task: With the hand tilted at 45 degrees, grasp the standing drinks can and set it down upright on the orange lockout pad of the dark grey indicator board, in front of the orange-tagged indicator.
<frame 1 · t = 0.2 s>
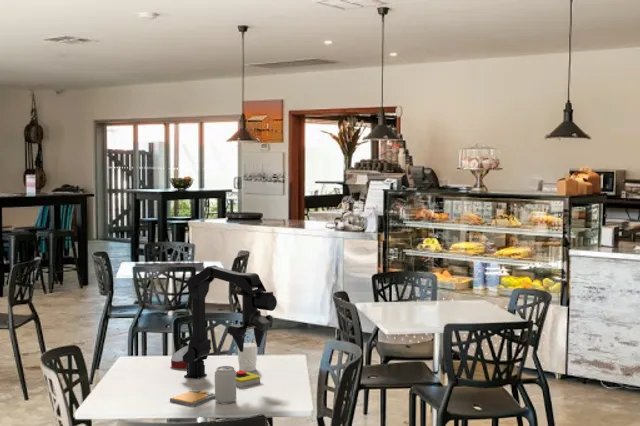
hand: (250, 349, 305), 14 cm above the table, tool pointing down, fingers open, 9 cm apart
emergency button: (243, 384, 312), on the table
can: (225, 401, 289), on the table
grey red slanted block: (183, 366, 337), on the table
indicator board: (194, 399, 291), on the table
white cup: (247, 369, 331), on the table
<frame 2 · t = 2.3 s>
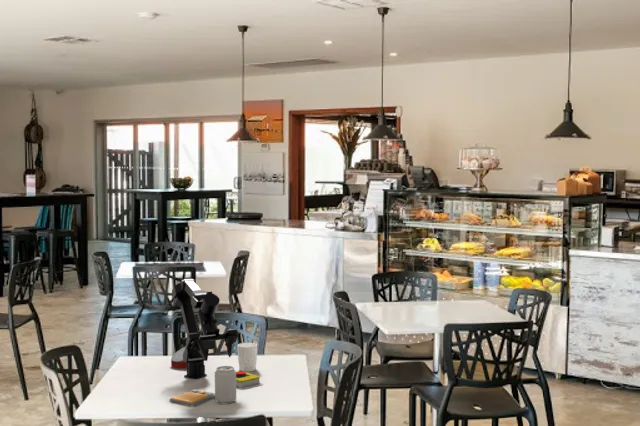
hand: (217, 358, 295), 14 cm above the table, tool tilted 45°, fingers open, 9 cm apart
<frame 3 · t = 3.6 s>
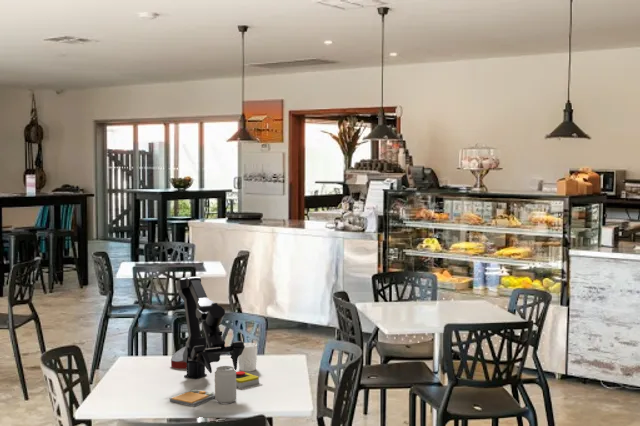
hand: (223, 371, 290), 10 cm above the table, tool tilted 45°, fingers open, 9 cm apart
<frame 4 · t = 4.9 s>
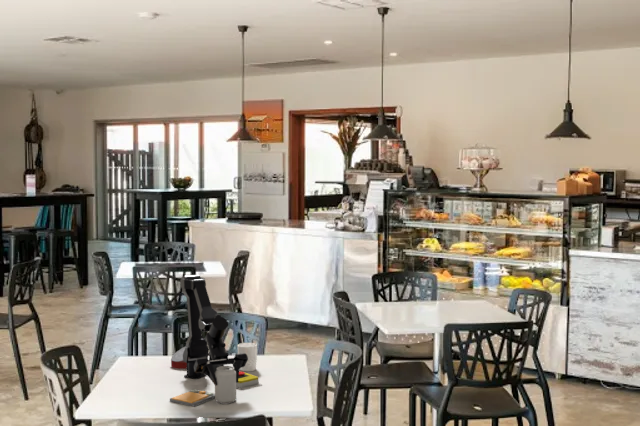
hand: (226, 383, 287), 7 cm above the table, tool tilted 45°, fingers closed on can, 7 cm apart
can: (225, 401, 289), on the table, touching gripper
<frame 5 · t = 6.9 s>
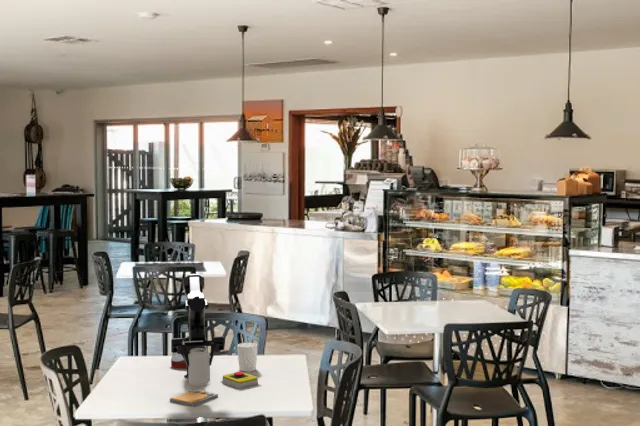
hand: (199, 365, 287), 13 cm above the table, tool tilted 45°, fingers closed on can, 7 cm apart
can: (199, 383, 289), point 6 cm above the table, touching gripper
when the fingers open (9 cm above the table, at t = 8.8 s): can stays where it is, resting on indicator board.
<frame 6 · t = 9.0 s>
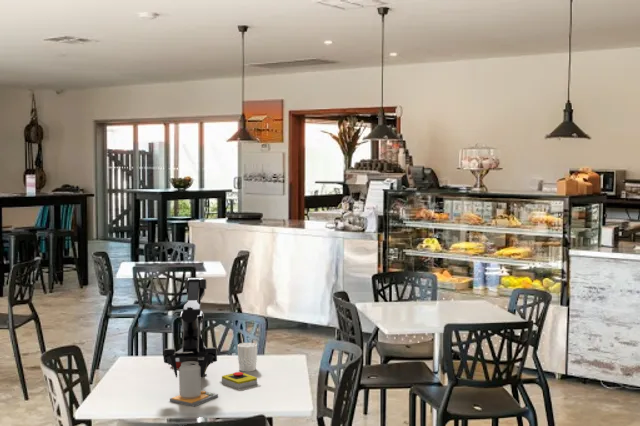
hand: (189, 376, 287), 9 cm above the table, tool tilted 45°, fingers open, 9 cm apart
can: (190, 397, 290), point 1 cm above the table, touching indicator board
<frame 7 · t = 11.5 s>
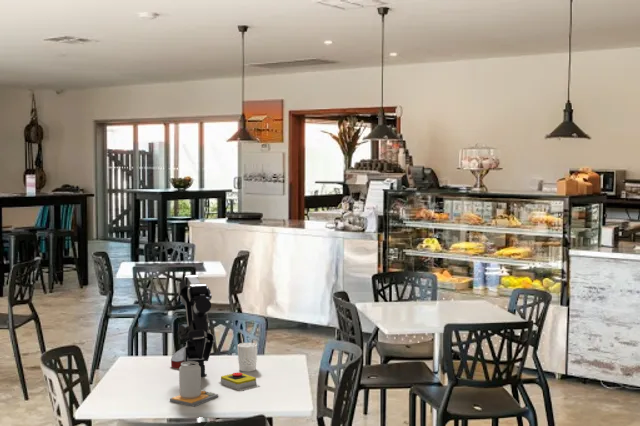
hand: (203, 360, 301), 11 cm above the table, tool tilted 20°, fingers open, 9 cm apart
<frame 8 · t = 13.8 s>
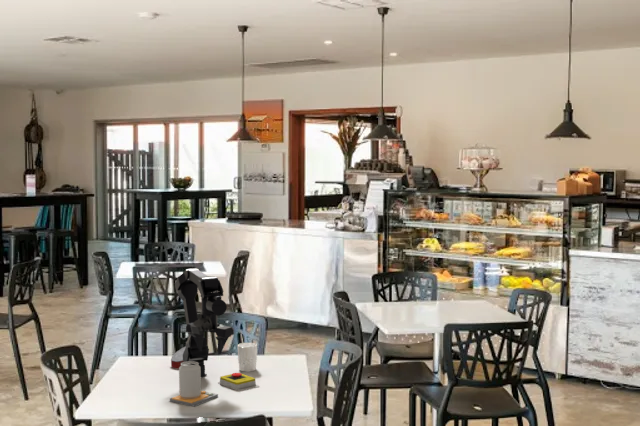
hand: (209, 352, 306), 13 cm above the table, tool pointing down, fingers open, 9 cm apart
at the end: can inside the target area on the indicator board (0.1 cm from its centre), point 1.2 cm above the indicator board's base; can tilted 0°; the gripper is holding nothing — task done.
